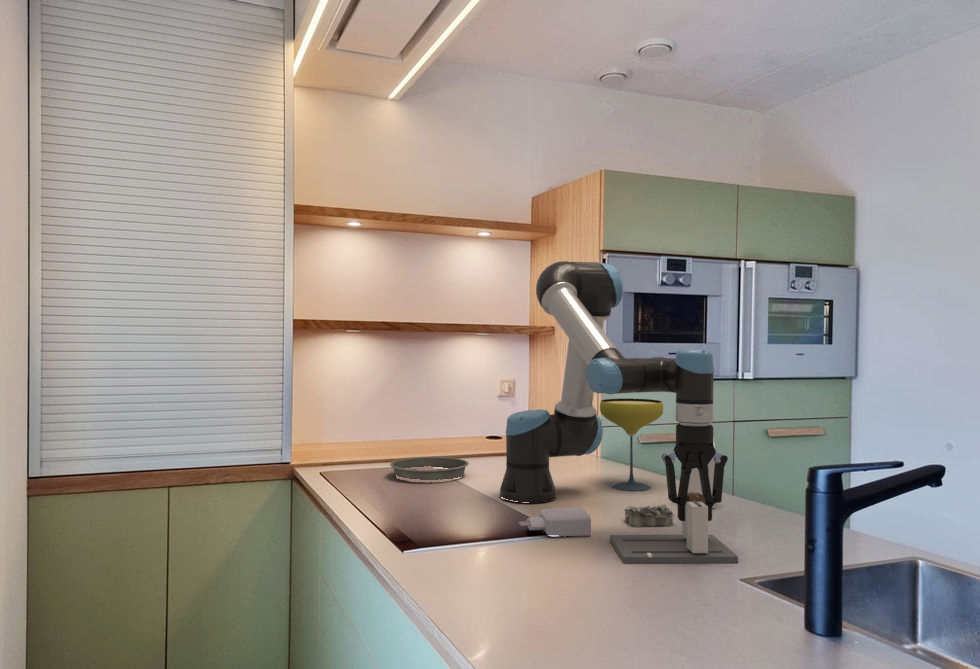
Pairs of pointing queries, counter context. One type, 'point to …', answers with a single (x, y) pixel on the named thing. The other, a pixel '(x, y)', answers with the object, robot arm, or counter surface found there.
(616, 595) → the counter surface
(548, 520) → the grey bottle
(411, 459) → the cake pan
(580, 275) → the robot arm
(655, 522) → the egg carton
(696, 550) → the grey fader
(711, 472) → the milk carton
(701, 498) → the block
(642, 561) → the console
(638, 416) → the cocktail glass
